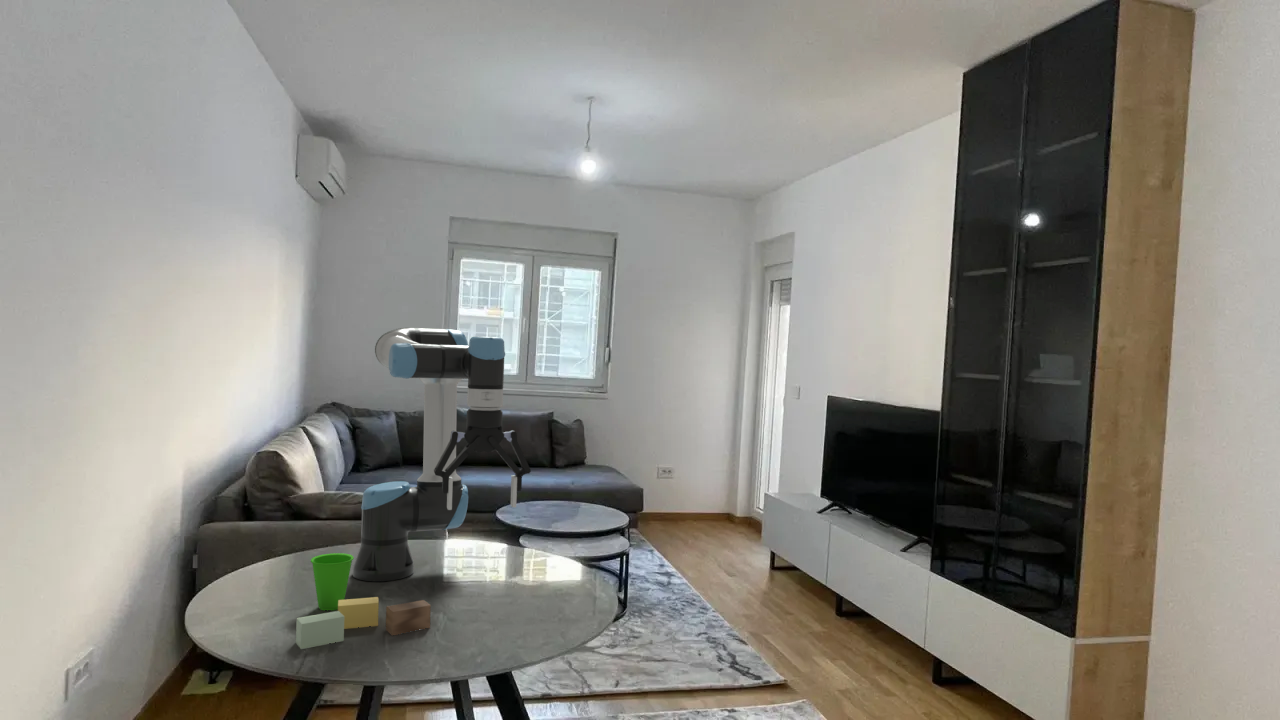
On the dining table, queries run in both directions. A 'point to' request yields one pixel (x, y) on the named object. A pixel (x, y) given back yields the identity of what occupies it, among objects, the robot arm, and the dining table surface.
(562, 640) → the dining table surface
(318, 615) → the sage brick
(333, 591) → the cup
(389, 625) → the walnut brick
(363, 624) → the mustard brick
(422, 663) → the dining table surface
